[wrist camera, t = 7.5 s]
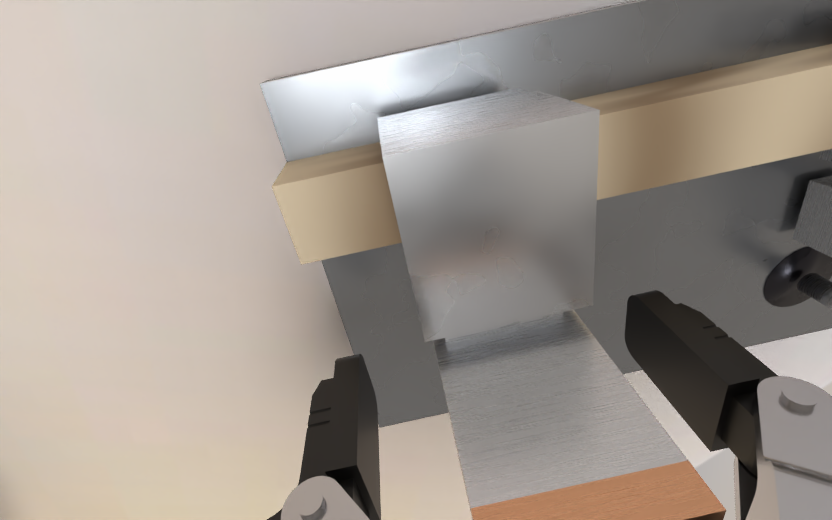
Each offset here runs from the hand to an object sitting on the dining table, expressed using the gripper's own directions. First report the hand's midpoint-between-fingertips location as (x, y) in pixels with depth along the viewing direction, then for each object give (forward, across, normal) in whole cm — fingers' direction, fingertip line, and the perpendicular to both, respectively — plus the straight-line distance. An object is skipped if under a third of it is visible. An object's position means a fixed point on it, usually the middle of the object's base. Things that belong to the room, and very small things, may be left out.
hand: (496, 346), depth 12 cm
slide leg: (+4, 0, -1) cm, 4 cm away
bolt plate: (+5, -6, 0) cm, 8 cm away
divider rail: (+4, -6, -4) cm, 8 cm away
